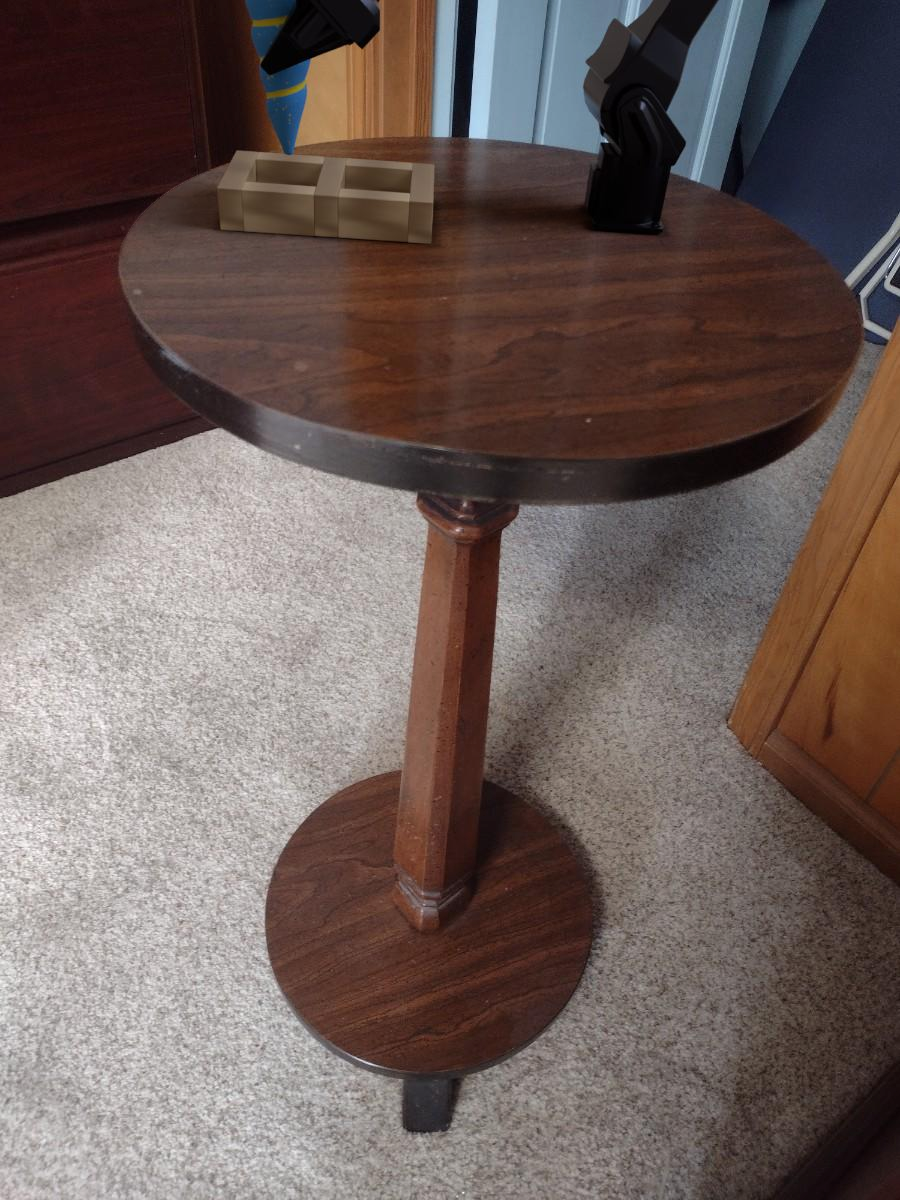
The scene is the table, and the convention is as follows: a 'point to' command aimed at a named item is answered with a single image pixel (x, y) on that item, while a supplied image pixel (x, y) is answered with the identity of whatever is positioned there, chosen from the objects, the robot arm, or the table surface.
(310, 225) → the rack
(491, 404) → the table surface
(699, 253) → the table surface
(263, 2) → the ornament
